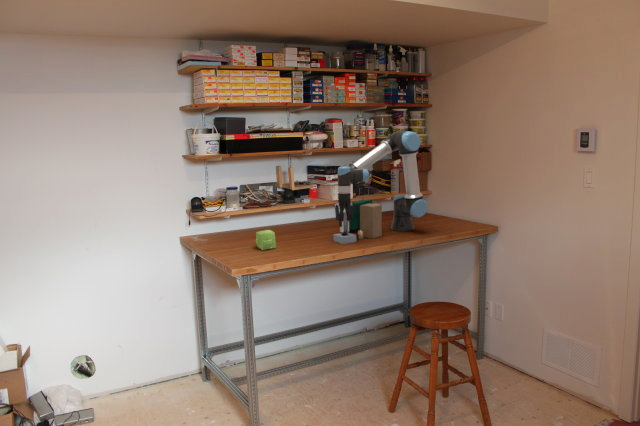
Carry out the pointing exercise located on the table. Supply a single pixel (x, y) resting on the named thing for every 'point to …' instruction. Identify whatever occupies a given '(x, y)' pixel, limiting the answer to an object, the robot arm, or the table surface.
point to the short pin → (360, 234)
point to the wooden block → (371, 220)
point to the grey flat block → (344, 238)
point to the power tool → (357, 216)
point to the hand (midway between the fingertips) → (344, 231)
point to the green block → (265, 239)
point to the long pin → (344, 224)
